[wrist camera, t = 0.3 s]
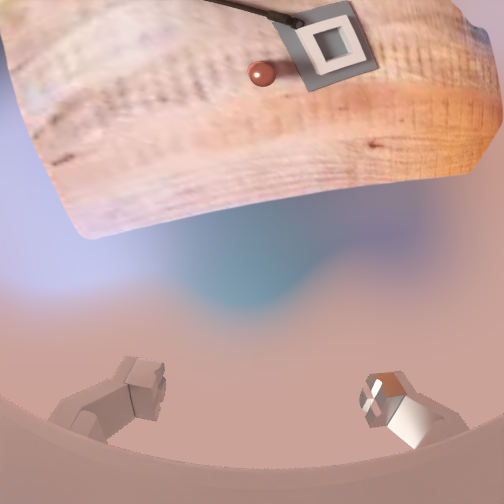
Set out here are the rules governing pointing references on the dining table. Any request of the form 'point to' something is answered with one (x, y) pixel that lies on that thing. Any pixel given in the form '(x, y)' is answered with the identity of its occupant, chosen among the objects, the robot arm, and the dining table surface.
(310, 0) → the dining table surface
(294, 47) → the socket board
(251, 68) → the pin
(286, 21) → the black hooked rod
